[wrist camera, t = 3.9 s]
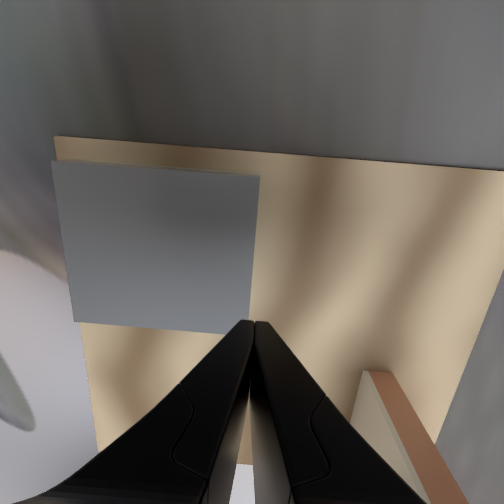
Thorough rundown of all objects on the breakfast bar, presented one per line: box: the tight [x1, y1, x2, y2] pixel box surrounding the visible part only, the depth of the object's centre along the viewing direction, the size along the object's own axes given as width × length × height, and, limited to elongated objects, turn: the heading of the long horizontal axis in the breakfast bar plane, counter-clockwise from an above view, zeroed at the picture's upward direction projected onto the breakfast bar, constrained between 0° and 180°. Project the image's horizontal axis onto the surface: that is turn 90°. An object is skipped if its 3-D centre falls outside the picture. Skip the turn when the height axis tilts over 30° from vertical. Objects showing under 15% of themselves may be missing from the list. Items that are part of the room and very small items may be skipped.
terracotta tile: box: [350, 370, 469, 504], centre depth 15 cm, size 2×8×9 cm, turn 176°
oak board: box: [53, 136, 504, 465], centre depth 17 cm, size 23×21×1 cm
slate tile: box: [50, 159, 261, 335], centre depth 15 cm, size 2×8×9 cm
